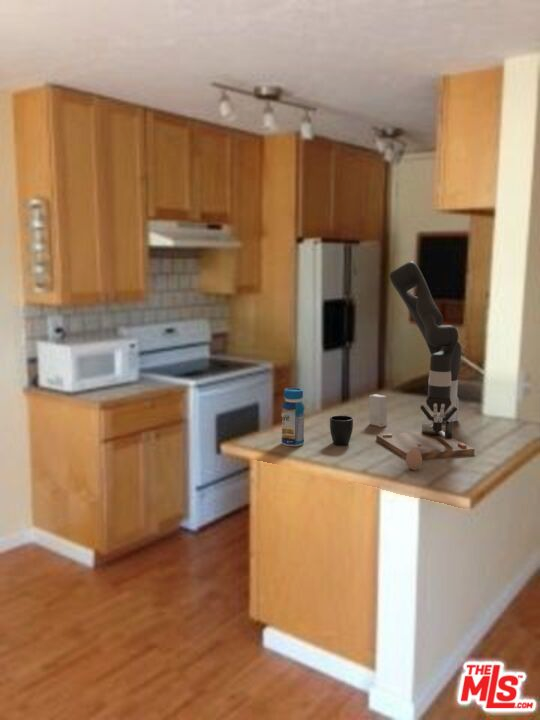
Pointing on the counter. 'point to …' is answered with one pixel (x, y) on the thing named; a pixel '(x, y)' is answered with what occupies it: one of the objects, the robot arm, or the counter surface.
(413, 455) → the egg
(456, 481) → the counter surface
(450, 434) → the crank handle
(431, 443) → the board
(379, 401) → the skincare box
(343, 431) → the mug
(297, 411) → the beverage bottle
